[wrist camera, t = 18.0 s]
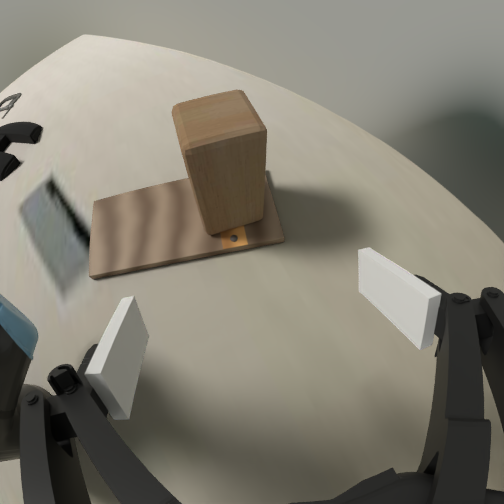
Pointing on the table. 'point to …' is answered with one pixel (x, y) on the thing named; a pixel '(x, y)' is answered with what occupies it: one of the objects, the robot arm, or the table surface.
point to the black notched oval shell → (18, 133)
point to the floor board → (166, 230)
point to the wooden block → (223, 158)
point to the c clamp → (14, 97)
